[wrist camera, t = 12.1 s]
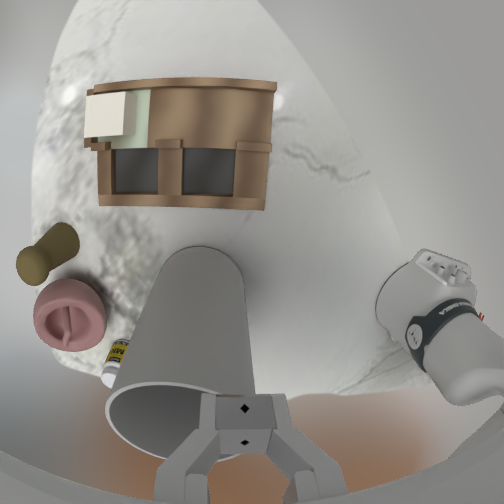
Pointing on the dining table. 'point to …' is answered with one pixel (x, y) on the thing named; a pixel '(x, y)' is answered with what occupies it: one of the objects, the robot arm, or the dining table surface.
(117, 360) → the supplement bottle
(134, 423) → the cylinder vase
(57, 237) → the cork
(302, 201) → the dining table surface
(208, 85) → the box
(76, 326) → the mortar and pestle
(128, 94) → the block
